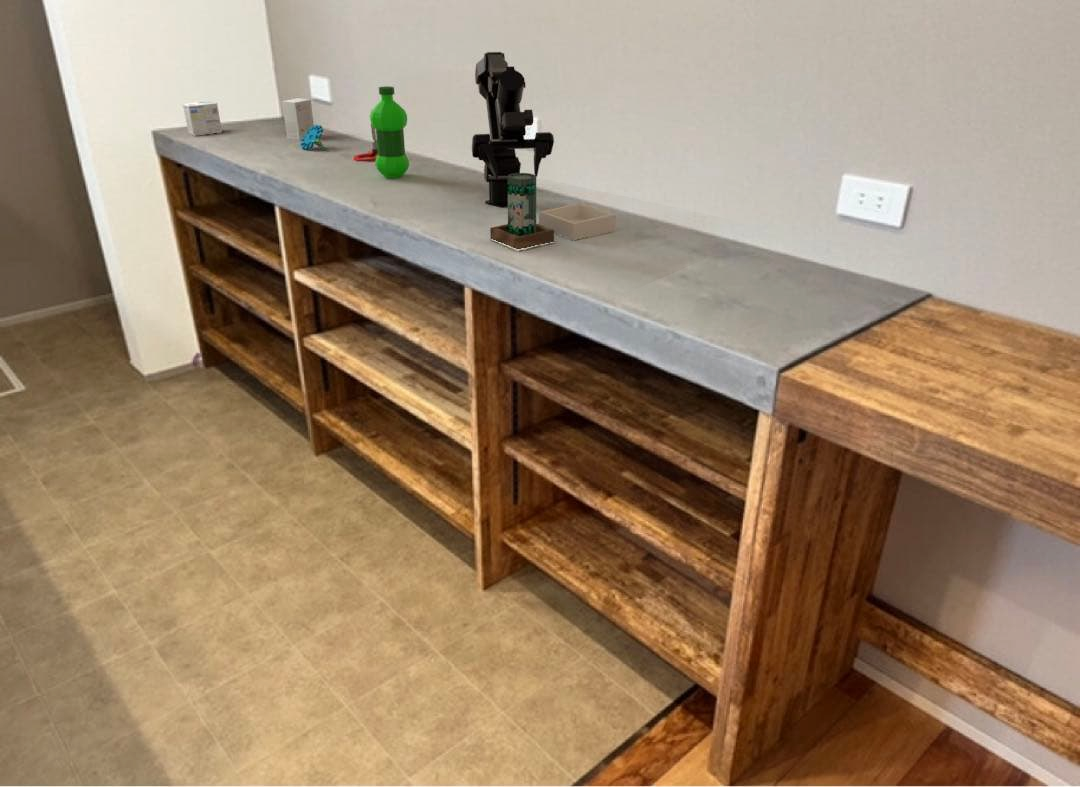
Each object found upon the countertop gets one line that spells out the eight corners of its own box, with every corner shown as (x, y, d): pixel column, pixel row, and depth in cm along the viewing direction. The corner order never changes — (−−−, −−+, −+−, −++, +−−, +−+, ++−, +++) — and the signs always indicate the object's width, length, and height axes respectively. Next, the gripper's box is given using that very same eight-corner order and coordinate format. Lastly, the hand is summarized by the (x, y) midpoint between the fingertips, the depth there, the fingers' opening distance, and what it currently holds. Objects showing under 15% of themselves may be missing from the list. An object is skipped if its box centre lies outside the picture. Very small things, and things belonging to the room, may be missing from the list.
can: (505, 244, 189) (504, 178, 182) (514, 236, 194) (513, 172, 187) (530, 247, 187) (530, 180, 180) (539, 239, 192) (539, 174, 185)
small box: (302, 135, 302) (297, 97, 296) (315, 137, 300) (311, 99, 294) (286, 139, 296) (281, 100, 290) (300, 140, 293) (295, 102, 287)
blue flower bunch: (295, 142, 283) (313, 119, 282) (308, 152, 287) (326, 130, 287) (305, 152, 276) (325, 129, 275) (319, 163, 280) (338, 140, 279)
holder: (490, 240, 191) (490, 227, 190) (526, 232, 197) (526, 220, 195) (517, 251, 184) (517, 238, 182) (554, 243, 190) (554, 230, 188)
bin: (538, 228, 200) (538, 211, 198) (579, 218, 207) (580, 203, 205) (573, 241, 191) (573, 224, 189) (615, 231, 198) (615, 214, 196)
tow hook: (366, 164, 263) (387, 158, 269) (360, 122, 256) (382, 117, 263) (348, 161, 267) (369, 154, 274) (342, 119, 261) (364, 114, 267)
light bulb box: (216, 130, 310) (211, 100, 305) (223, 133, 305) (218, 102, 300) (187, 133, 304) (181, 103, 299) (193, 136, 299) (188, 105, 294)
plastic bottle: (377, 172, 251) (369, 85, 239) (412, 172, 251) (406, 84, 240) (373, 180, 242) (365, 90, 230) (409, 180, 243) (403, 89, 231)
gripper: (471, 97, 186) (478, 157, 182) (553, 95, 189) (561, 155, 184) (469, 127, 197) (475, 185, 192) (546, 125, 200) (554, 182, 195)
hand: (516, 176), depth 191 cm, fingers open, 9 cm apart
